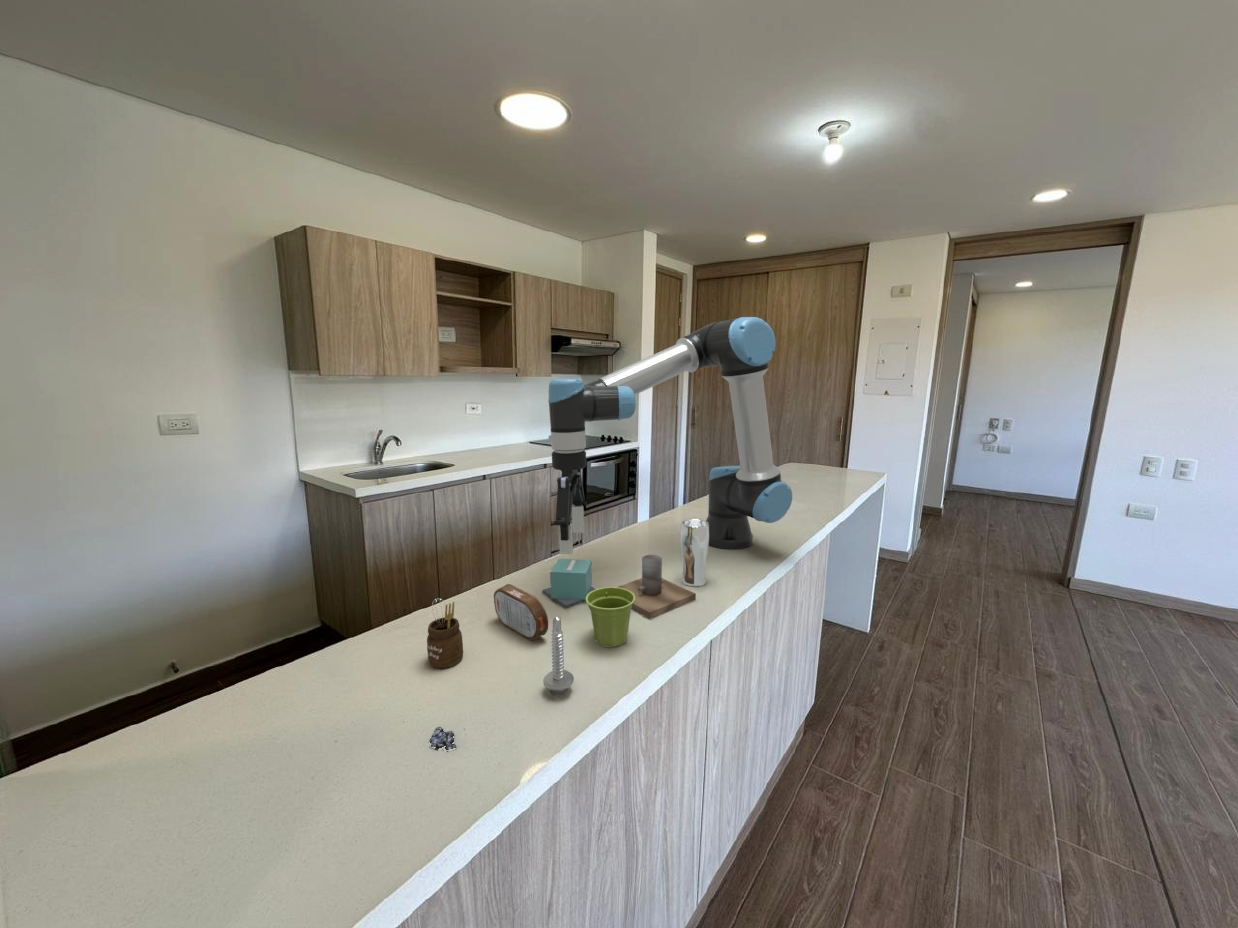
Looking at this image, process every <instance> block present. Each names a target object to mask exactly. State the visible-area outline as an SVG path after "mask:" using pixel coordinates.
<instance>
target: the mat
mask: <svg viewBox="0 0 1238 928" xmlns="http://www.w3.org/2000/svg"><path fill="white" fill-rule="evenodd" d="M596 589H597V588H595V587H594V586H591V589H590V591H589V593H590V592H591V591H593V590H596ZM541 593H542V594H543V593H544V594H543V595H545V596H546V597H548V598H549V599H550V600H552V601H554V602H555V603H556V604H558V605H560V606H561V607H562V608H564V609H569V608H572V607H574V606H578V605H580V604H583V603H585V602H586V600H583V599H561V598H551V586H550V587H548V588H544V589H542V592H541Z"/></svg>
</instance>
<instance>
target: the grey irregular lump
mask: <svg viewBox="0 0 1238 928" xmlns="http://www.w3.org/2000/svg"><path fill="white" fill-rule="evenodd" d="M443 730H444V728H443V727H441V726H437V727H436V728H435V729H434V731H433V732H434V733H433V732H432V735H431V736H430V737H431V738H430V737H429V738H430V739H429V741H428V743H429V742H430V743H431V747H436V748H437V749H439V748H442V747H444V746H446V747H445V749H446V750H449V749H453V748H456V749H457V745H456V744H455V743H454V744H452V743H453V742H454V739H455V734H454V733H455V732H453V730H448V731H445V730H444V731H445V732H444V731H443ZM453 736H454V738H453ZM437 749H436V750H437Z"/></svg>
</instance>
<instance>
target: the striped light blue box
mask: <svg viewBox="0 0 1238 928" xmlns="http://www.w3.org/2000/svg"><path fill="white" fill-rule="evenodd" d="M592 561H593V559H579V558H576V559H575V558H557V560H556V562H555V563H554V565H553V566H552V569H551V570H550V572H549V575H550V576H549V577H550V579H549V580H550V587H551V598H561V599H583V600H586V596H587V594H588V593H589V591H590V589H591V586H592V585H593V572H592V571H593V562H592ZM592 587H593V586H592ZM551 598H550V599H551Z"/></svg>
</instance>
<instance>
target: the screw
mask: <svg viewBox="0 0 1238 928" xmlns="http://www.w3.org/2000/svg"><path fill="white" fill-rule="evenodd" d="M550 643H551V647H552V648H551V657H552V658H551V665H552V666H551V667H552V670H551V671H550V672H548V673H546V675H544V677H543V681H542V683H543V686H544V687H545V688H546V689H548V690H549V692H550V693H551V694H552V695H553V696H555V697H558V696H565V694H566V692H567V691H568V688H570V687H571V686H573V683H574V681H575V677H574V675H573V673H572V672H570V671H568V670H565V669H564V668H565V666H564V665H565V659H564V657H565V656H564V654H565V652H564V632H563V630H562V618H561V617H560V616H558V615H556V616H553V617H552V630H551V642H550Z"/></svg>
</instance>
